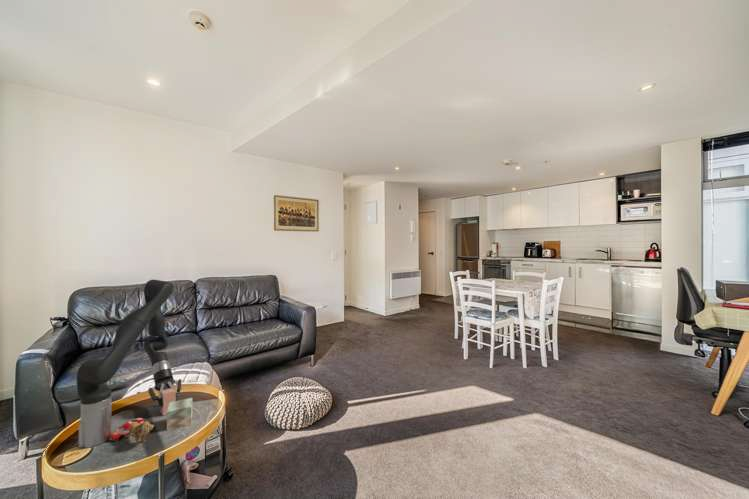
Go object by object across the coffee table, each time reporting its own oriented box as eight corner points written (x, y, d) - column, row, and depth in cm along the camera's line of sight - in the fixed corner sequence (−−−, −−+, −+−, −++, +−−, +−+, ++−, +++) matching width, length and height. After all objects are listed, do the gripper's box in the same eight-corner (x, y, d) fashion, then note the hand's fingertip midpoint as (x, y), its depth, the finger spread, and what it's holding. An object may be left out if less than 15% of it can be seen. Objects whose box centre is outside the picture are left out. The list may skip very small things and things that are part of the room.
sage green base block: (166, 430, 128) (166, 411, 128) (169, 419, 136) (169, 402, 136) (191, 424, 133) (191, 406, 133) (192, 414, 141) (192, 397, 141)
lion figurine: (155, 441, 121) (155, 419, 121) (141, 449, 116) (141, 427, 116) (132, 433, 126) (132, 412, 126) (118, 440, 121) (118, 419, 121)
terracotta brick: (163, 415, 140) (163, 394, 139) (160, 411, 143) (160, 391, 143) (175, 411, 143) (175, 390, 143) (172, 407, 147) (172, 387, 146)
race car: (115, 444, 120) (114, 434, 120) (105, 441, 121) (105, 432, 121) (147, 425, 133) (147, 416, 132) (138, 423, 134) (138, 414, 134)
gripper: (146, 373, 142) (152, 406, 135) (180, 364, 153) (188, 395, 145) (143, 380, 146) (149, 413, 138) (177, 371, 157) (184, 401, 149)
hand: (169, 404), depth 142 cm, fingers closed on terracotta brick, 5 cm apart
